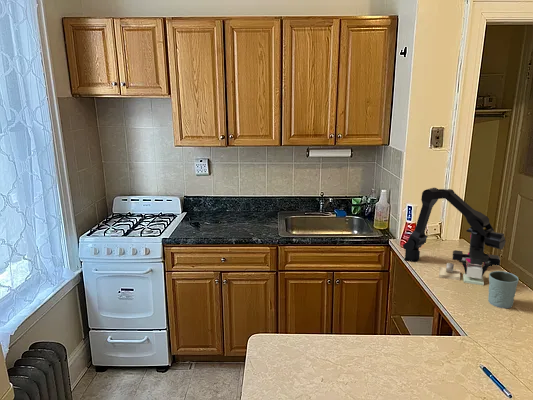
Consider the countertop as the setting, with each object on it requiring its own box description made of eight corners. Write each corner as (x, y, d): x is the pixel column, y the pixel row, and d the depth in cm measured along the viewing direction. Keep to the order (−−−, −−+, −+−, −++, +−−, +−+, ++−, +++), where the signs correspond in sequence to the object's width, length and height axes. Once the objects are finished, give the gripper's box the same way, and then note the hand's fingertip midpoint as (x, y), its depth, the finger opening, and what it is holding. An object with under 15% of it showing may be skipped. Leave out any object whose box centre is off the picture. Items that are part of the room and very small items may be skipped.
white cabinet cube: (466, 276, 177) (467, 267, 176) (466, 271, 182) (467, 262, 181) (481, 278, 175) (482, 269, 174) (480, 273, 180) (482, 264, 179)
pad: (463, 282, 177) (463, 280, 177) (463, 275, 184) (463, 273, 184) (483, 285, 174) (483, 283, 174) (482, 277, 181) (482, 276, 181)
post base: (438, 277, 183) (439, 266, 182) (439, 269, 191) (440, 259, 190) (459, 280, 179) (461, 269, 178) (459, 272, 187) (460, 261, 186)
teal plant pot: (513, 299, 161) (516, 273, 158) (516, 311, 152) (520, 283, 149) (485, 295, 165) (488, 269, 162) (486, 306, 157) (490, 279, 154)
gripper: (454, 246, 172) (451, 279, 175) (503, 252, 164) (499, 286, 168) (454, 238, 181) (451, 269, 185) (500, 243, 174) (496, 275, 177)
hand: (473, 275), depth 179 cm, fingers closed on white cabinet cube, 6 cm apart
